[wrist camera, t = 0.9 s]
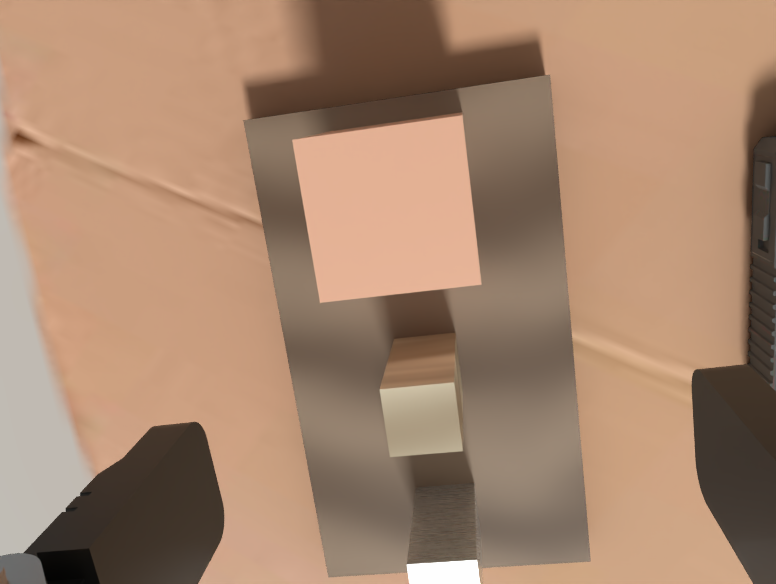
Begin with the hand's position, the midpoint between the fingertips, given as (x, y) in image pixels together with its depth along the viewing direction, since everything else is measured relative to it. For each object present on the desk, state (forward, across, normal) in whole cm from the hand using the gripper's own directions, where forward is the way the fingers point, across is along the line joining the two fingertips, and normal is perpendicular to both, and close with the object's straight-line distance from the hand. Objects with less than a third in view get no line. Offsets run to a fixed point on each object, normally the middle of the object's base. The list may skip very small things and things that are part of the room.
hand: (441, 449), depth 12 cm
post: (+18, +2, +12) cm, 22 cm away
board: (+19, +2, +5) cm, 20 cm away
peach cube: (+18, +2, -2) cm, 18 cm away
